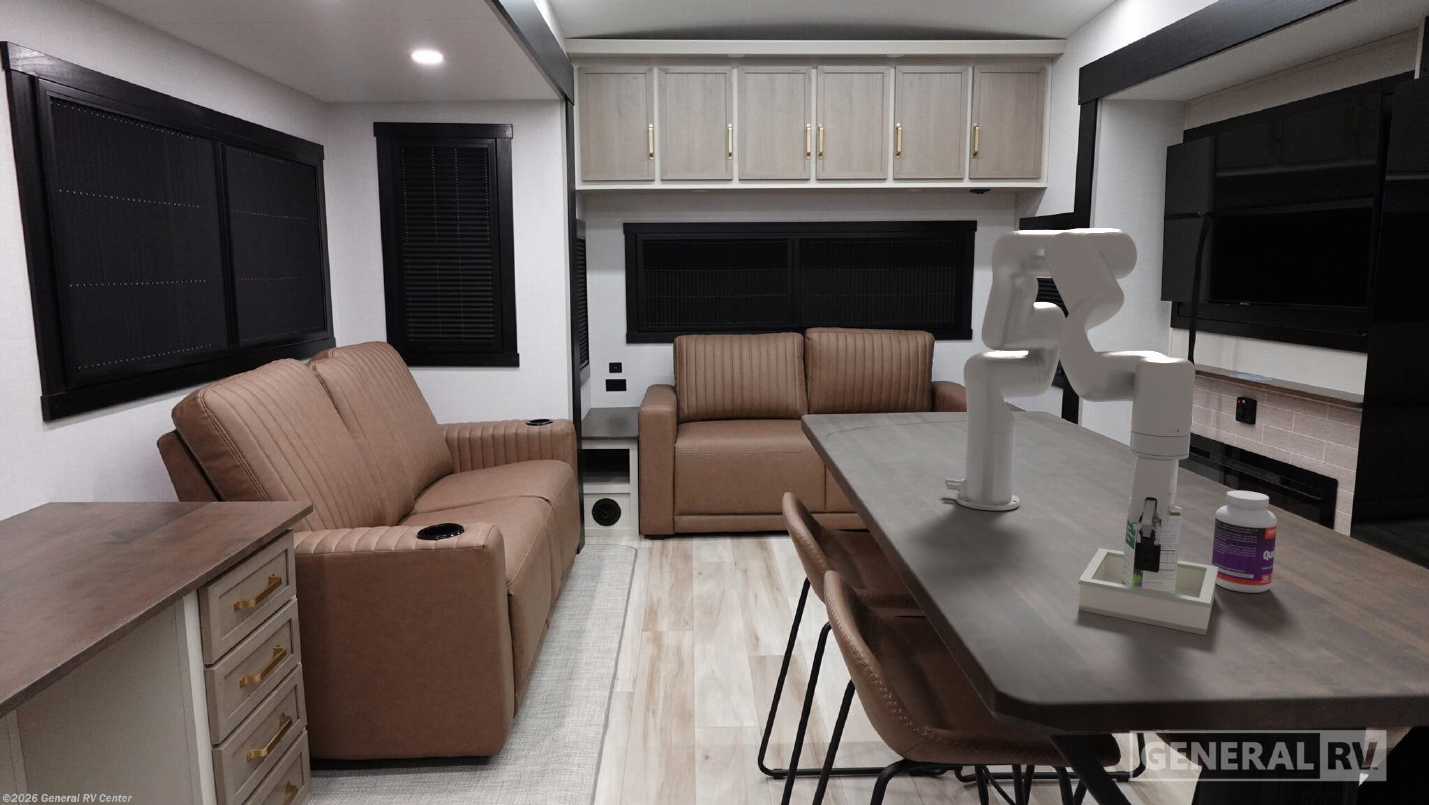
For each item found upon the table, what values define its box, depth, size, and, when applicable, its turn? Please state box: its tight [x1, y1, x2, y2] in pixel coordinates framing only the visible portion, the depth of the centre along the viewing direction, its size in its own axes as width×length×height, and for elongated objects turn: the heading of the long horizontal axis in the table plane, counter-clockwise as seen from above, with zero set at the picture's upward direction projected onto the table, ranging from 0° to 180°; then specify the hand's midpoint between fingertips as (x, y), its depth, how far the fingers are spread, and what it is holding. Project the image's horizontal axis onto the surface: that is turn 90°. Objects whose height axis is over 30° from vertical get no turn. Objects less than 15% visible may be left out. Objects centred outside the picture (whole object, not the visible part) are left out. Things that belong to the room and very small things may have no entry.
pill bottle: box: [1210, 490, 1278, 594], centre depth 131 cm, size 8×8×14 cm
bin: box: [1078, 547, 1218, 636], centre depth 126 cm, size 16×16×5 cm
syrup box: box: [1122, 496, 1183, 594], centre depth 125 cm, size 6×6×14 cm
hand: (1150, 560), depth 125 cm, fingers open, 8 cm apart
